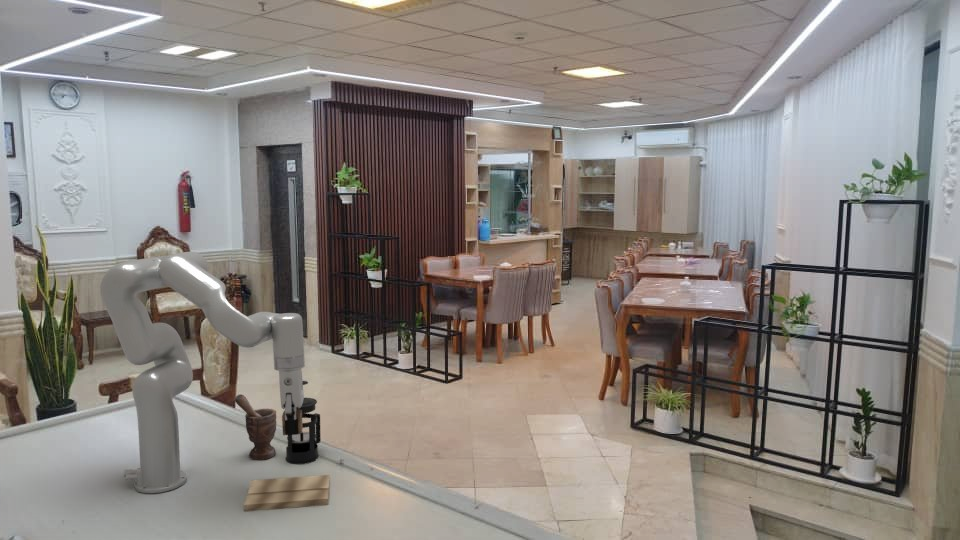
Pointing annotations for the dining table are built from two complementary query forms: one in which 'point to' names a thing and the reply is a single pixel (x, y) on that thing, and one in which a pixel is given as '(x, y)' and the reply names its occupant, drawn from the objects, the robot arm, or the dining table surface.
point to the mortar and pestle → (259, 428)
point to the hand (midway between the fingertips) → (293, 430)
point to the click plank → (289, 484)
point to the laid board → (286, 499)
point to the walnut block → (300, 425)
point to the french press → (305, 436)
